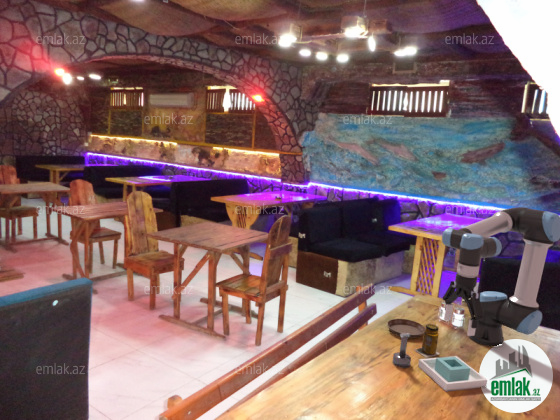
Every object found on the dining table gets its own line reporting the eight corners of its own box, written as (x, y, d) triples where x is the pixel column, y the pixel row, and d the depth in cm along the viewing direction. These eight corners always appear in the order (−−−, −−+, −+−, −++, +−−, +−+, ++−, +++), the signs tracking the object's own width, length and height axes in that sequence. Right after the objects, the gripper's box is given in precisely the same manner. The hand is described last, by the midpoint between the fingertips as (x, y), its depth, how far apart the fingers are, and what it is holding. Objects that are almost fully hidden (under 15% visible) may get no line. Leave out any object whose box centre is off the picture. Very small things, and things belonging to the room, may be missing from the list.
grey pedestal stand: (404, 358, 186) (408, 329, 184) (413, 367, 180) (417, 337, 177) (389, 359, 184) (393, 330, 182) (398, 368, 178) (402, 338, 175)
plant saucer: (381, 332, 210) (382, 326, 209) (393, 320, 225) (393, 315, 224) (419, 344, 201) (419, 338, 200) (428, 331, 216) (429, 325, 215)
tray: (455, 362, 186) (456, 356, 186) (486, 387, 169) (487, 379, 169) (418, 366, 181) (419, 359, 180) (445, 391, 164) (447, 384, 163)
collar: (453, 367, 181) (455, 356, 180) (468, 380, 172) (470, 368, 171) (434, 369, 178) (436, 358, 177) (448, 382, 169) (450, 370, 169)
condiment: (440, 354, 193) (444, 328, 191) (427, 358, 188) (431, 331, 186) (426, 346, 199) (430, 321, 197) (413, 350, 194) (417, 324, 192)
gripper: (438, 264, 178) (431, 314, 182) (482, 286, 155) (472, 343, 159) (453, 264, 180) (446, 313, 184) (499, 286, 157) (490, 341, 161)
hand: (458, 327), depth 171 cm, fingers open, 13 cm apart
